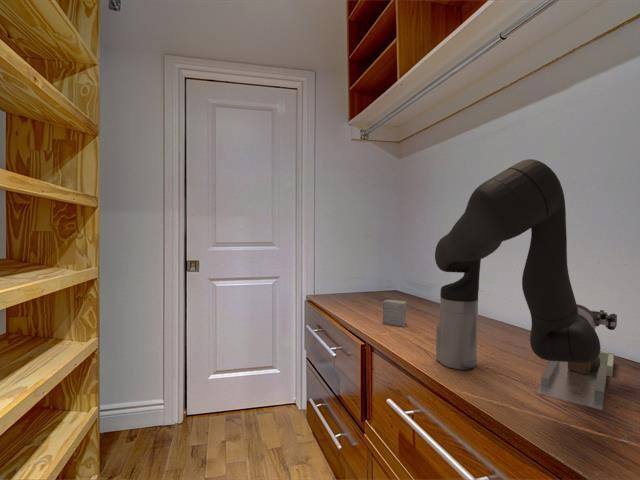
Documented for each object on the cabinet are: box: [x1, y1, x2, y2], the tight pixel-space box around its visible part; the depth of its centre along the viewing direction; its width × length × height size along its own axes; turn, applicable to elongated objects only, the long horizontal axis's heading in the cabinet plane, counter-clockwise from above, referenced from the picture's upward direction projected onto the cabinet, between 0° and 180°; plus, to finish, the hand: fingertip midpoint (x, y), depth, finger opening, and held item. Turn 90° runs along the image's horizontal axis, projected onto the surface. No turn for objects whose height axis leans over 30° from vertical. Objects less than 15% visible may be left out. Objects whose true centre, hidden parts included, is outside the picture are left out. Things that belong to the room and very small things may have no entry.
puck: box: [591, 357, 600, 371], centre depth 90 cm, size 4×4×3 cm
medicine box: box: [382, 299, 408, 328], centre depth 132 cm, size 8×4×9 cm, turn 59°
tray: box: [547, 350, 615, 378], centre depth 93 cm, size 12×13×2 cm
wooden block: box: [568, 362, 591, 374], centre depth 88 cm, size 4×4×8 cm
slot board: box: [536, 361, 608, 411], centre depth 85 cm, size 34×11×2 cm, turn 139°
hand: (580, 311), depth 89 cm, fingers open, 8 cm apart
